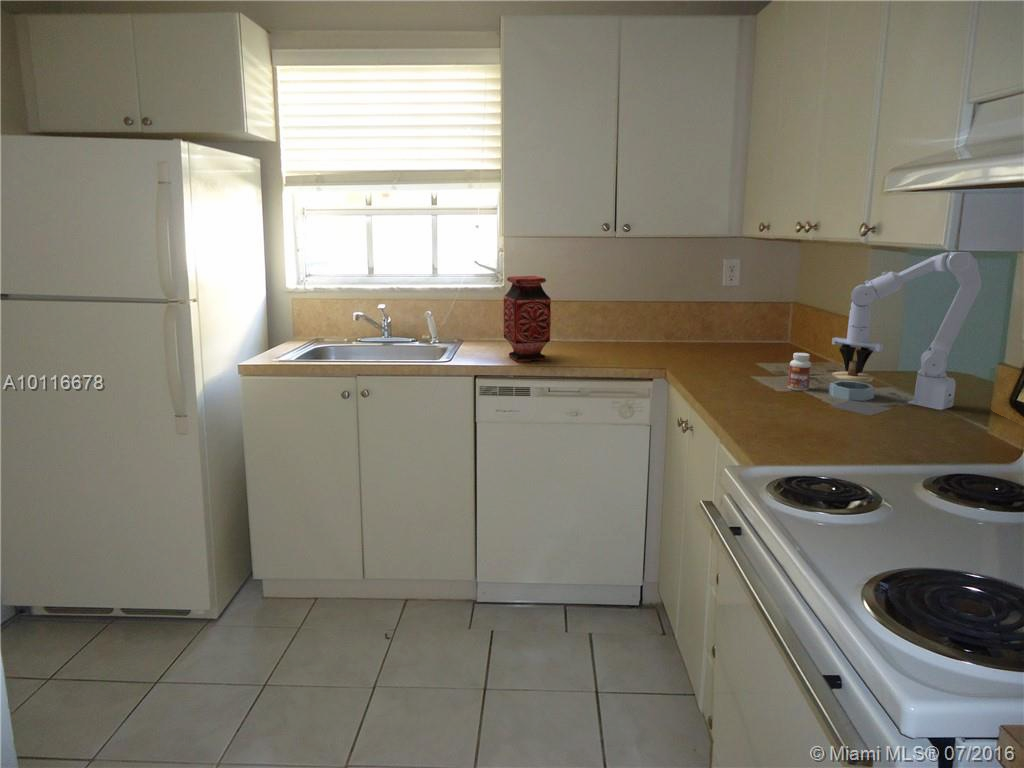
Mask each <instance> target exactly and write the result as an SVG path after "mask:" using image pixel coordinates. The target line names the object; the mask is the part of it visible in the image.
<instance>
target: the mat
mask: <svg viewBox="0 0 1024 768" xmlns="http://www.w3.org/2000/svg"><path fill="white" fill-rule="evenodd" d="M828 407H829V408H835V409H838V410H842V411H847V412H852V413H855V414H862V415H863V416H864V415H865V416H868V417H869V416H873V415H877V414H881V413H884V412H887V411H891V410H893V408H890V407H886V406H881V405H877V404H873V403H868V402H863V401H860V400H845V401H843V402H839V403H835V404H831V405H828Z"/></svg>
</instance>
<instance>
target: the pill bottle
mask: <svg viewBox="0 0 1024 768" xmlns="http://www.w3.org/2000/svg"><path fill="white" fill-rule="evenodd" d="M810 355H811V354H809V353H806V352H794V353H793V355H792V358H793V359H792V360H791V361H790V362H789V369H788V378H787V379H788V382H787V387H788V389H789V390H792V391H798V392H800V391H802V392H803V391H808V390H809V389H810V380H811V371H812V362H811V361H809V360H810Z"/></svg>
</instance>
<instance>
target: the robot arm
mask: <svg viewBox="0 0 1024 768" xmlns="http://www.w3.org/2000/svg"><path fill="white" fill-rule="evenodd" d="M946 268H947V270H948V271H950V273H952V274H953V275H954V276H955V278H956V281H957V282H958V284H959V288H958V290H957V292H956V295H955V296H954V298H953V300H952V303H951V304H950V306H949V309H948V310H947V313H946V315H945V317H944V319H943V320H942V322H941V325H940V327H939V329H938V331H937V333H936V335H935V338H934V339H933V341H932V342H931V344H930V345H929V347H928V348H927V349H926V350H925V351H923V353H921V355H920V360H919V361H920V369H919V370H917V375H916V382H915V388H914V389H915V390H914V395H913V399H912V400H909V401H907V403H906V404H910V405H915V406H920V407H925V408H930V409H934V410H935V409H936V410H939V411H940V410H941V411H942V410H945V409H949V408H953V407H954V406H953V405H954V399H955V392H956V387H957V386H956V380H955V378H953V377H949V376H947V372H946V369H947V367H948V358H949V355H950V354H951V353H950V352H951V349H952V346H953V344H954V343H955V340H956V338H957V337H958V334H959V332H960V330H961V329H962V326H963V325H964V322H965V320H966V318H967V316H968V314H969V312H970V310H971V308H972V305H973V304H974V302H975V300H976V298H977V296H978V294H979V292H980V290H981V288H982V285H983V284H982V279H981V275H980V270H979V264H978V260H976V258H975V257H974V256H973V254H972V253H971V252H970V251H968V252H950V251H949V252H943V253H940V254H936V255H934V256H931V257H929V258H926V259H925V260H923V261H921V262H918V263H917V264H915V265H913V266H911V267H908V268H906V269H904V270H902V271H900V272H895V271H888V272H887V271H883V272H882V273H881V275H880V276H877V277H876V278H874V279H871V280H869V279H867V280H865V281H864V283H865V284H860V285H857V286H856V287H855V288H853V290H852V291H851V295H850V296H851V297H850V298H851V303H850V309H849V316H848V326H847V333H846V338H844V337H836V336H835V337H832V339H831V345H833V346H834V345H835V346H836V345H838V346H840V347H839V352H840V354H841V356H842V359H843V363H844V370H845V371H844V372H848V367H849V361H854V356H855V352H856V361H857V367H856V373H861V374H863V370H864V367H865V365H866V363H867V361H868V360H869V358H870V356H871V355H872V354H873V353H874V351H875V352H879V353H880V352H883V349H884V344H883V343H878V342H873V341H869V335H870V334H869V333H870V326H871V318H872V309H871V308H872V302H873V300H874V299H875V300H879V299H881V298H884V297H886V296H889V295H890V294H893V293H895V292H898V291H900V290H901V289H902V286H903V284H904V283H906V282H909V281H912V280H914V279H916V278H919V277H921V276H923V275H926V274H928V273H931V272H946ZM952 406H953V407H952Z"/></svg>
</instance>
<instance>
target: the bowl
mask: <svg viewBox="0 0 1024 768" xmlns="http://www.w3.org/2000/svg"><path fill="white" fill-rule="evenodd" d="M875 390H876V387H874V385H872V384H870V383H868V382H855V381H846V380H836V381H832V382H829V388H828V394H829V395H830V396H832V397H833V398H838V399H841V400H845V401H849V400H854V401H860V402H863V401H869V400H872V399H874V398H875V392H876V391H875Z"/></svg>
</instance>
